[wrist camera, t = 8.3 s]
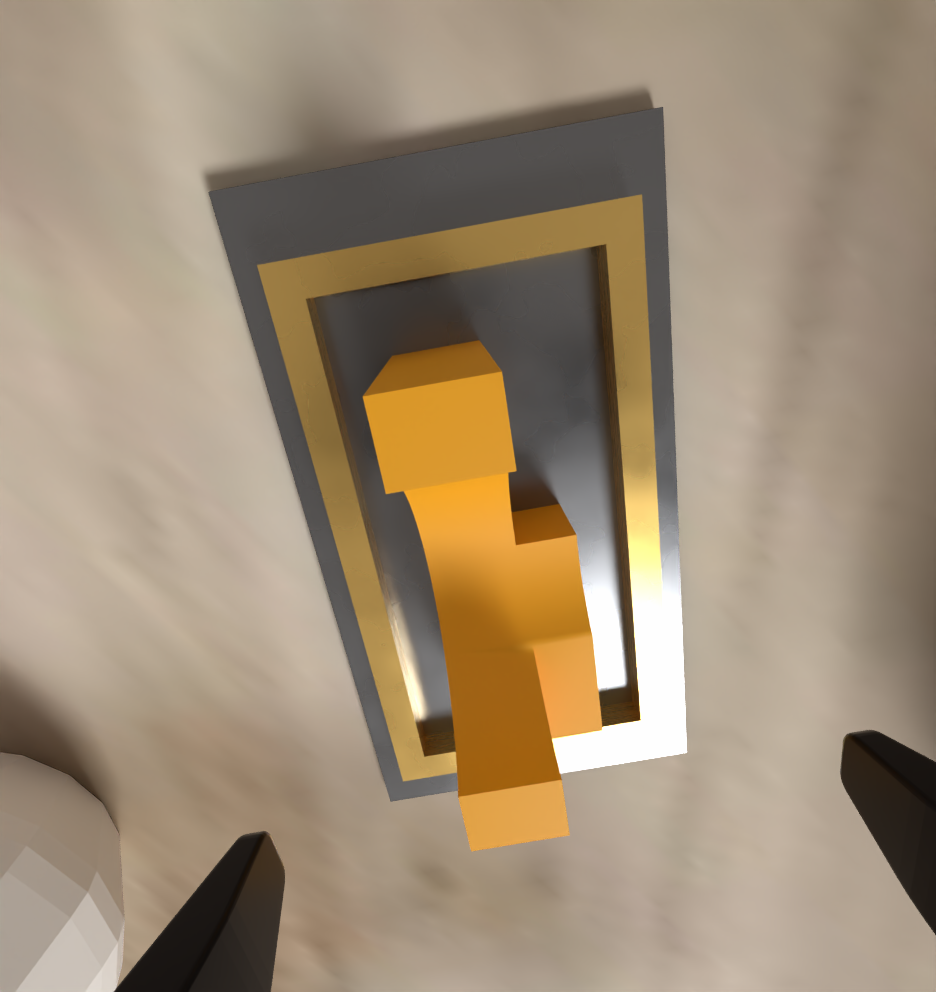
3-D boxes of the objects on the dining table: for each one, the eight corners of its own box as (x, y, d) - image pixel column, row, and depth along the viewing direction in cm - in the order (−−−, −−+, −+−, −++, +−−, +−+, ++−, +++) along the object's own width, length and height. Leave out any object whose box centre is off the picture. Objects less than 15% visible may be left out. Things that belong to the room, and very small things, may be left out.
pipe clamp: (578, 664, 20) (636, 824, 14) (462, 684, 20) (471, 851, 14) (538, 329, 16) (597, 354, 10) (392, 355, 16) (362, 397, 10)
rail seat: (656, 112, 15) (678, 94, 13) (681, 742, 23) (697, 773, 21) (215, 195, 15) (192, 184, 14) (391, 790, 23) (388, 824, 21)
